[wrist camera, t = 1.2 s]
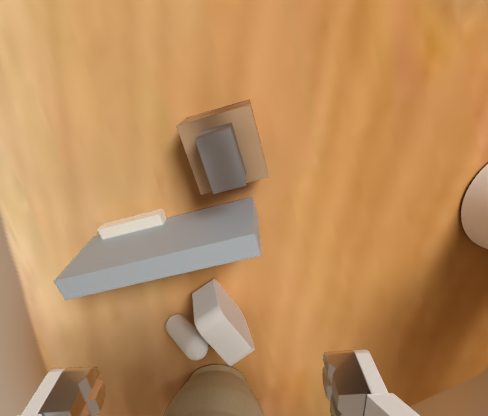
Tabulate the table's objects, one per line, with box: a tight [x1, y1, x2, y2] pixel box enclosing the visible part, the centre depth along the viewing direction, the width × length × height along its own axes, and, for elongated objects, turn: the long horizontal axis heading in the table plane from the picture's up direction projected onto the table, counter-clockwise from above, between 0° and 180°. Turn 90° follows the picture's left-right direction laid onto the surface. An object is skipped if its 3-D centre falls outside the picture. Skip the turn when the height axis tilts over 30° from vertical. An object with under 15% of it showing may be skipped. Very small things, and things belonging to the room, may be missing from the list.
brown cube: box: [176, 99, 268, 195], centre depth 30 cm, size 7×7×9 cm
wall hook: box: [166, 279, 255, 366], centre depth 40 cm, size 8×10×10 cm
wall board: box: [53, 197, 261, 300], centre depth 34 cm, size 21×4×9 cm, turn 105°
